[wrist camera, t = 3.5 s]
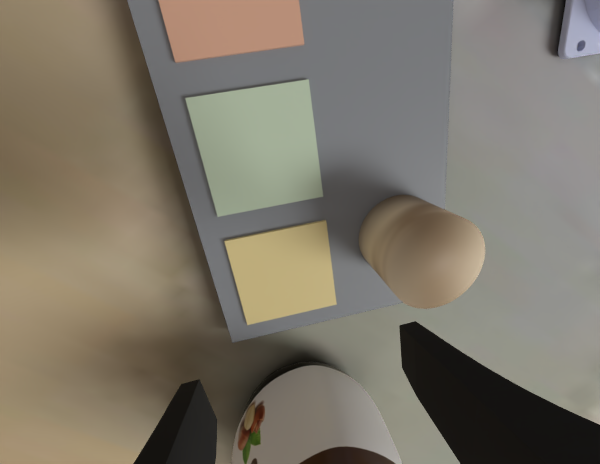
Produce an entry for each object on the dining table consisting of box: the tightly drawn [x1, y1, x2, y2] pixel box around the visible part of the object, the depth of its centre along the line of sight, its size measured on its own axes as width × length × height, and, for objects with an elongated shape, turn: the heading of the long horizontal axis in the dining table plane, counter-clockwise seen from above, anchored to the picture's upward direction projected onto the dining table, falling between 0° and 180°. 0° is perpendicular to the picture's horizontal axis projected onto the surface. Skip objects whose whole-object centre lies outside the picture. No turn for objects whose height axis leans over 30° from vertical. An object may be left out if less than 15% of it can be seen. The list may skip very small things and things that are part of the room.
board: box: [127, 0, 453, 343], centre depth 15 cm, size 14×22×1 cm, turn 9°
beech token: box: [359, 195, 485, 309], centre depth 15 cm, size 5×5×4 cm
